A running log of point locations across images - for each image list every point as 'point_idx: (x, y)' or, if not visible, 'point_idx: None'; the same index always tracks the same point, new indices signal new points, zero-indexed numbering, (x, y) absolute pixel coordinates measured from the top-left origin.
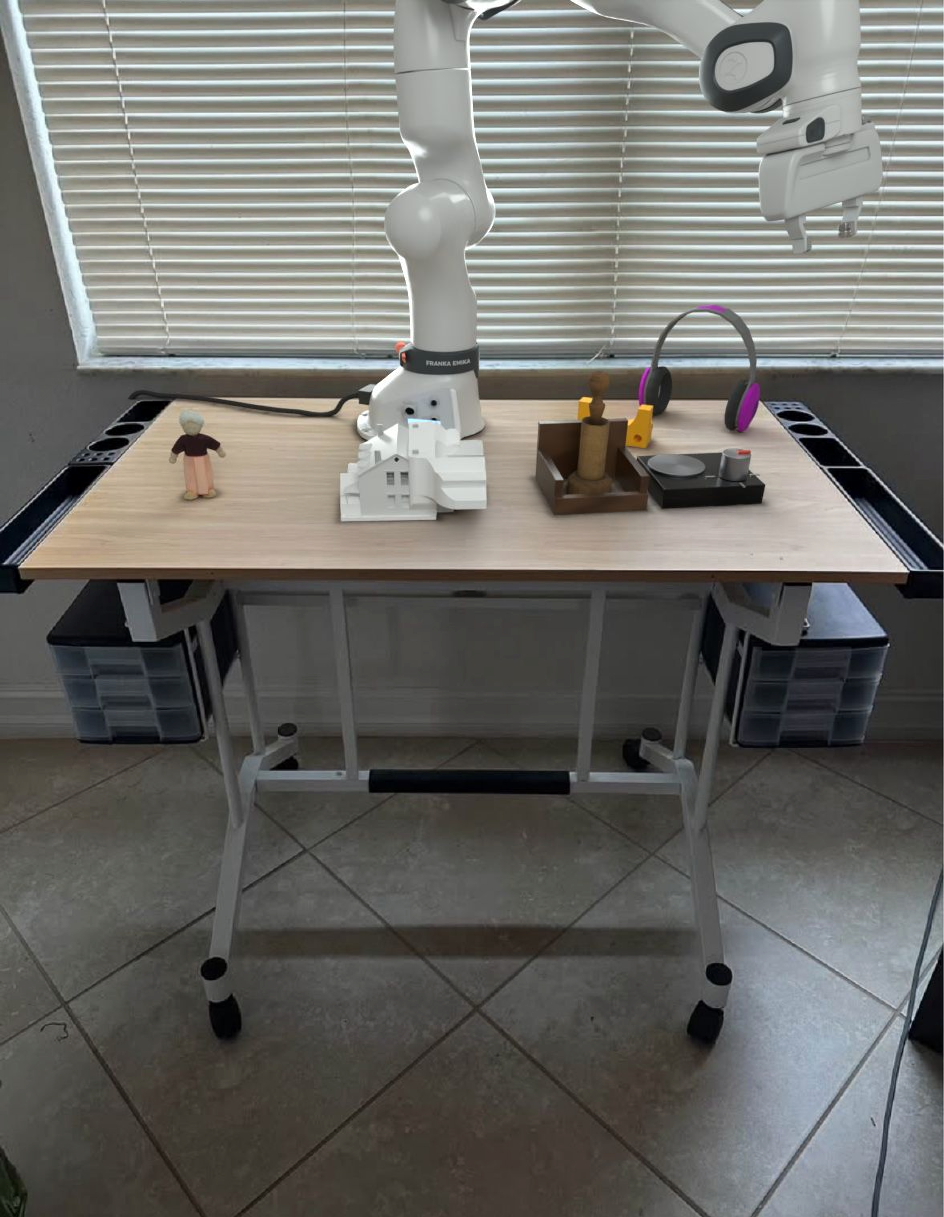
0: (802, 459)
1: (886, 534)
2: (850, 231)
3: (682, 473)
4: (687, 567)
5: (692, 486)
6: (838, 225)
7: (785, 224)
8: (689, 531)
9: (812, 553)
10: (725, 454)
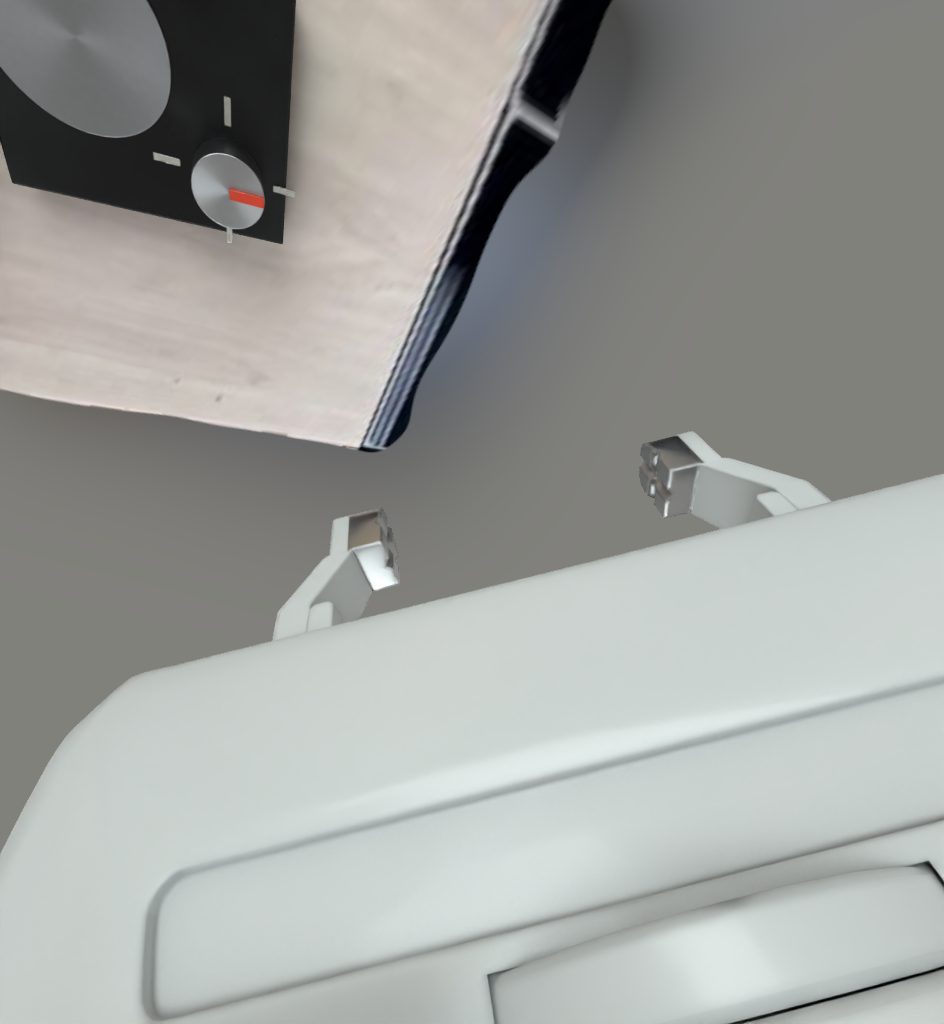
0: (512, 32)
1: (403, 375)
2: (650, 495)
3: (82, 118)
4: (48, 392)
5: (100, 192)
6: (668, 469)
7: (278, 624)
8: (79, 287)
9: (272, 395)
10: (194, 189)
